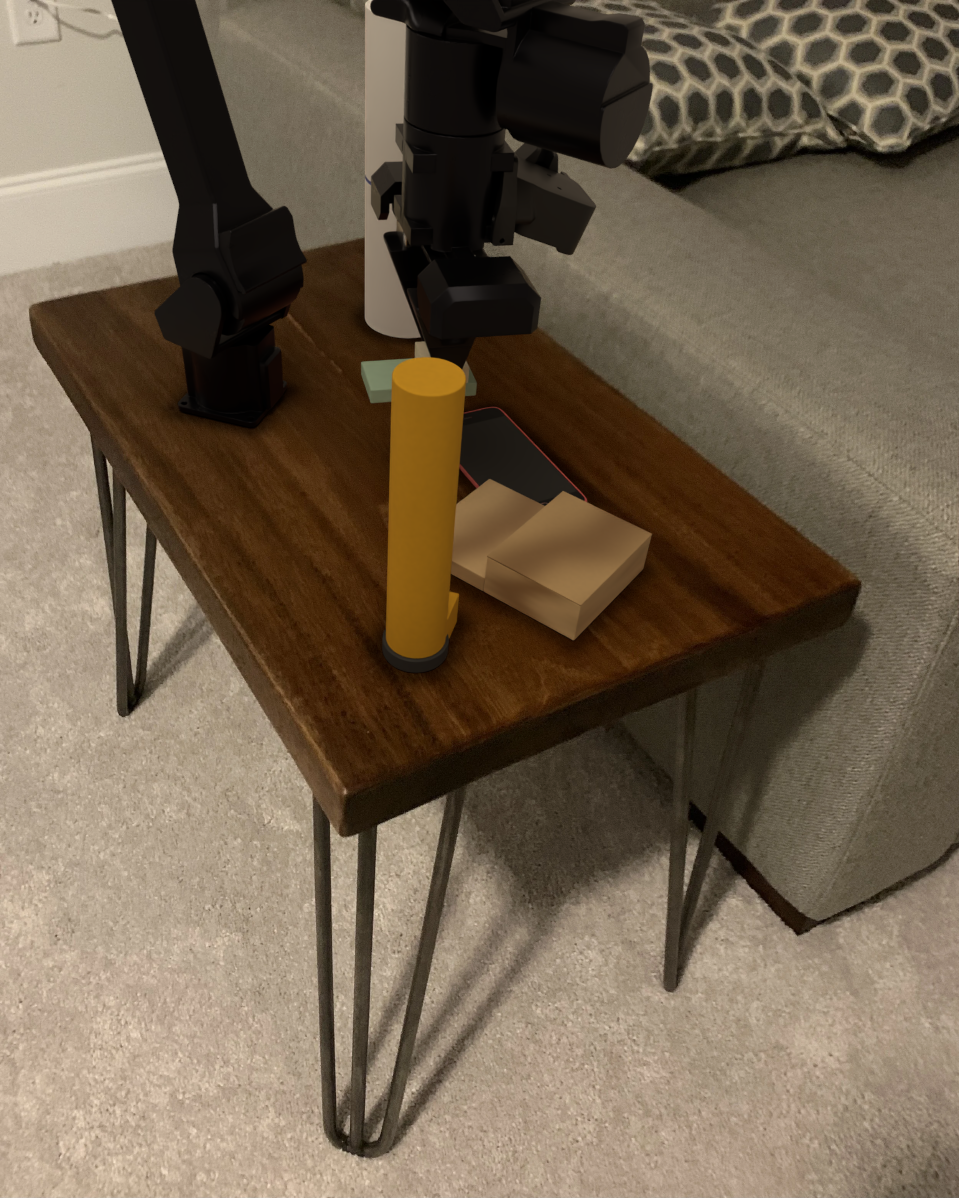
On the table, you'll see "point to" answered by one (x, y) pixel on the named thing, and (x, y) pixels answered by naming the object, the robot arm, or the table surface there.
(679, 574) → the table surface
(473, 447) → the smartphone
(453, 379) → the tall yellow cylinder post
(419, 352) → the two-tone stepped block
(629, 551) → the flat tan slab box
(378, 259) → the cylindrical container
